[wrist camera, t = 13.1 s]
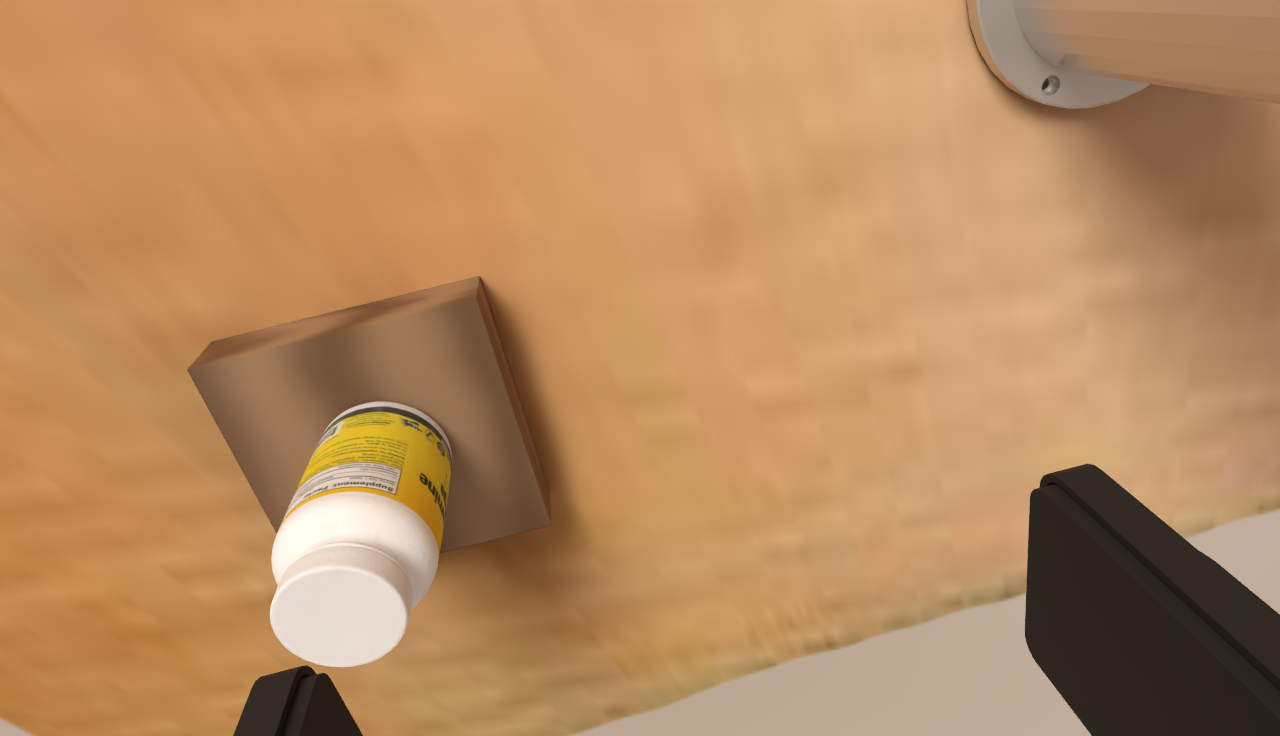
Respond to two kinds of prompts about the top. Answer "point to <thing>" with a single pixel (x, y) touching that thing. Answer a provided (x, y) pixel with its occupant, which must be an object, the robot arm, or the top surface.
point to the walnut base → (383, 372)
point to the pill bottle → (361, 535)
